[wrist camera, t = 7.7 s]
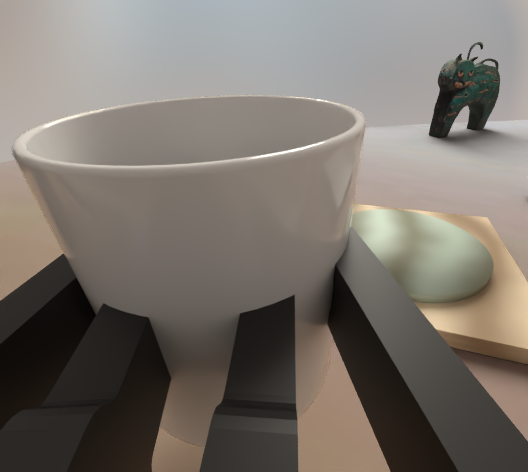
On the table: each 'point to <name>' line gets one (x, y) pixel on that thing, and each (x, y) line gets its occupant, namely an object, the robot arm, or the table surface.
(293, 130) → the mug
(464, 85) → the ceramic cat
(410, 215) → the serving board
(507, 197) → the table surface
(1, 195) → the table surface
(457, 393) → the robot arm
